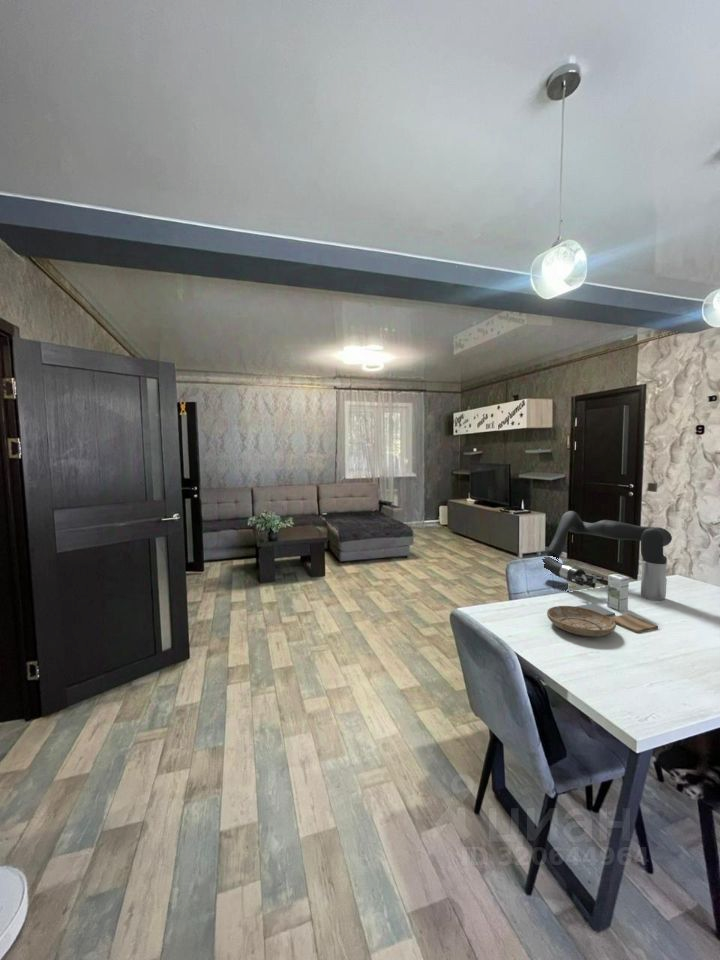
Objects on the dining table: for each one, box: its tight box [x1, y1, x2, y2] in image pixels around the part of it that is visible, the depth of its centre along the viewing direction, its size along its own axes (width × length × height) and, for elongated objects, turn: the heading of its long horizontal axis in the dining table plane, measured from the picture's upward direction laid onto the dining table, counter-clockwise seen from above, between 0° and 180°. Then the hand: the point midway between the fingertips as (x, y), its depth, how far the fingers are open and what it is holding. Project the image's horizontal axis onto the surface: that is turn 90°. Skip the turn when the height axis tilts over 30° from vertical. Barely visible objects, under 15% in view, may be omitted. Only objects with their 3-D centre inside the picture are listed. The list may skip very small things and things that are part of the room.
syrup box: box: [606, 573, 630, 612], centre depth 173 cm, size 6×6×14 cm
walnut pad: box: [609, 613, 659, 634], centre depth 157 cm, size 12×12×1 cm
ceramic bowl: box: [546, 605, 617, 637], centre depth 153 cm, size 23×24×5 cm
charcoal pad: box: [575, 603, 616, 617], centre depth 168 cm, size 11×11×1 cm
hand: (601, 584), depth 180 cm, fingers open, 8 cm apart
